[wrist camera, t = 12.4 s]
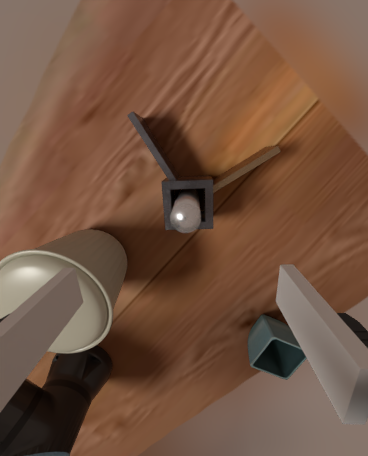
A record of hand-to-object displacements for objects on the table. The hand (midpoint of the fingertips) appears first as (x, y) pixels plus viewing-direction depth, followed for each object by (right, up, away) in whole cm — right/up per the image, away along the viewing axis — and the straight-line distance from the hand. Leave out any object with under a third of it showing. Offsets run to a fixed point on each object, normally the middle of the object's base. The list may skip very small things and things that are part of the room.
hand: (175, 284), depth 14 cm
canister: (-18, -2, +32) cm, 37 cm away
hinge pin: (+1, +10, +27) cm, 28 cm away
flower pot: (+20, -19, +36) cm, 46 cm away
